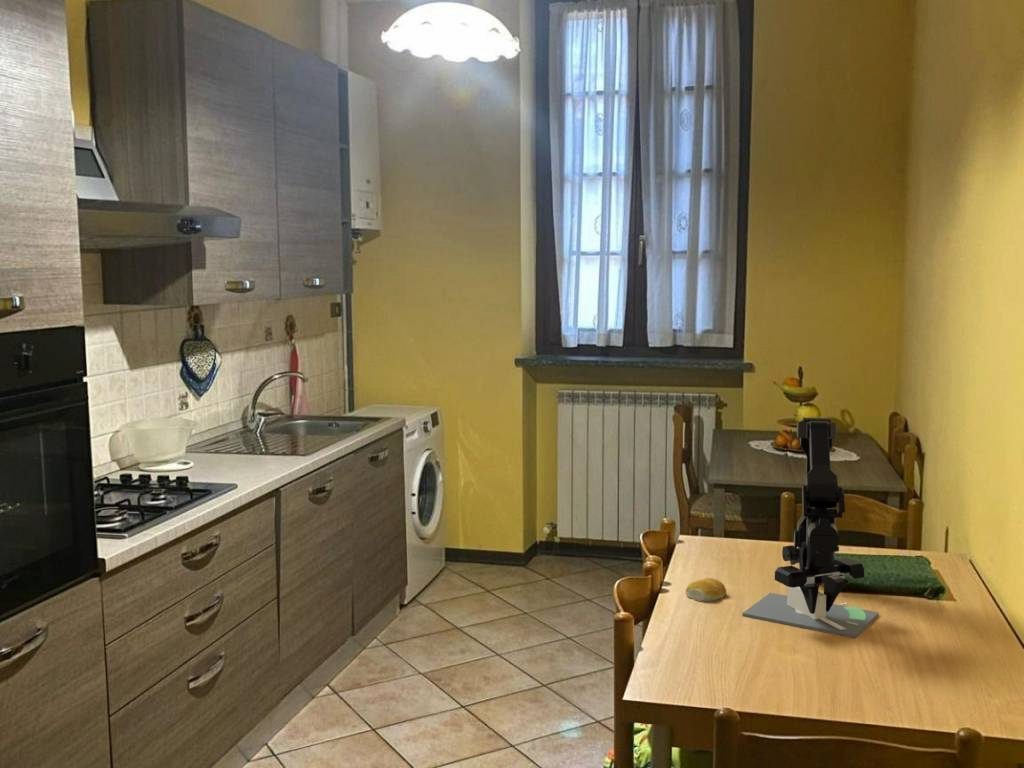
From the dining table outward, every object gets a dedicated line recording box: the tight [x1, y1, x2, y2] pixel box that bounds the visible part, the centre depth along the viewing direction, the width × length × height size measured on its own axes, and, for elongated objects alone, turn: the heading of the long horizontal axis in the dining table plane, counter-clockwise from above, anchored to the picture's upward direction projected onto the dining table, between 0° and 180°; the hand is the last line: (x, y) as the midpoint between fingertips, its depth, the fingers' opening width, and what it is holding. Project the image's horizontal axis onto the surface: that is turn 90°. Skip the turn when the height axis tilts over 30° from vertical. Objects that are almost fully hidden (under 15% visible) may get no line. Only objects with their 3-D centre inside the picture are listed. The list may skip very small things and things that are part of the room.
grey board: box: [742, 592, 880, 639], centre depth 217 cm, size 18×24×1 cm
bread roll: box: [685, 577, 727, 602], centre depth 230 cm, size 8×9×4 cm
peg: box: [786, 586, 844, 630], centre depth 213 cm, size 3×17×5 cm, turn 20°
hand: (819, 612), depth 212 cm, fingers open, 3 cm apart
